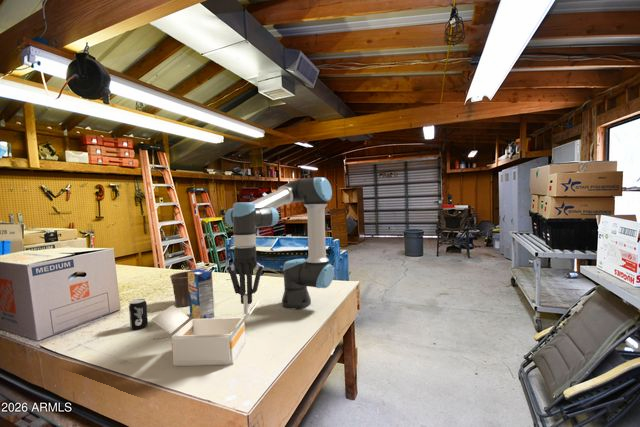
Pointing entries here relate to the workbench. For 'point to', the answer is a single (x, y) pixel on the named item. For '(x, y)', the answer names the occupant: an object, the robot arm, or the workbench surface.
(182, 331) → the carton
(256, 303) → the end flap
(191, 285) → the beverage box
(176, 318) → the end flap
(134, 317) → the beverage can
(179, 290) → the plant pot
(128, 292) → the workbench surface
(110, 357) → the workbench surface
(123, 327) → the workbench surface
